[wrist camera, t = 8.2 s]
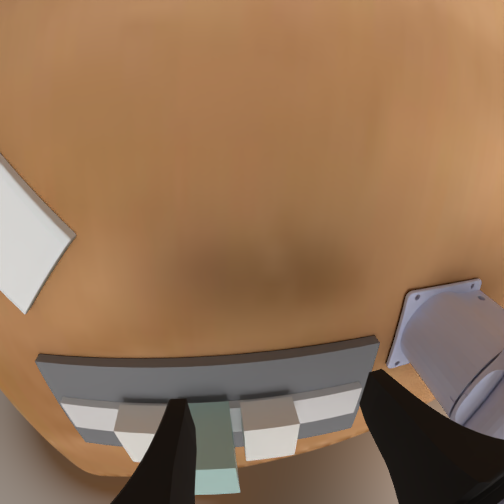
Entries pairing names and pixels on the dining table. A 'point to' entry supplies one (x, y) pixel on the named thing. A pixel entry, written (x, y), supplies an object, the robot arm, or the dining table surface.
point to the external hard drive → (27, 239)
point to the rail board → (216, 393)
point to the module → (214, 449)
